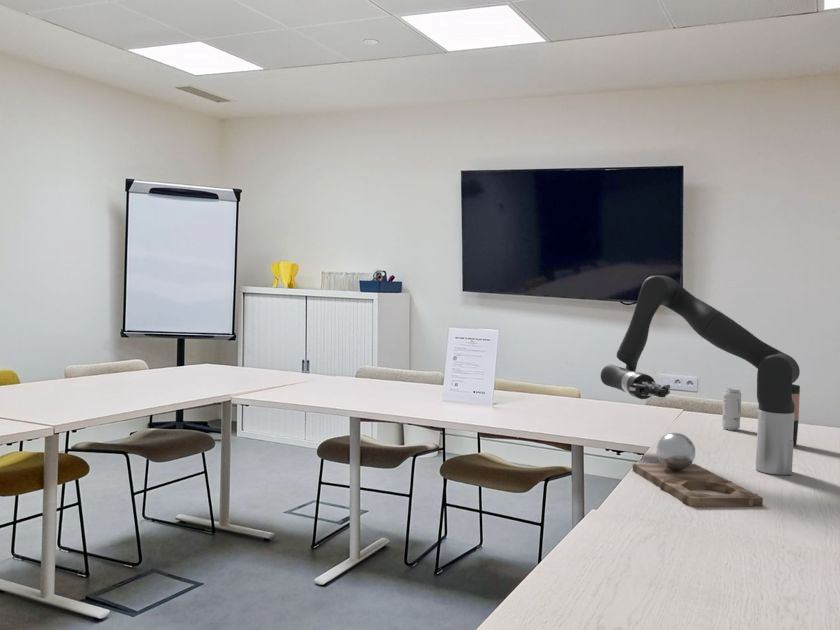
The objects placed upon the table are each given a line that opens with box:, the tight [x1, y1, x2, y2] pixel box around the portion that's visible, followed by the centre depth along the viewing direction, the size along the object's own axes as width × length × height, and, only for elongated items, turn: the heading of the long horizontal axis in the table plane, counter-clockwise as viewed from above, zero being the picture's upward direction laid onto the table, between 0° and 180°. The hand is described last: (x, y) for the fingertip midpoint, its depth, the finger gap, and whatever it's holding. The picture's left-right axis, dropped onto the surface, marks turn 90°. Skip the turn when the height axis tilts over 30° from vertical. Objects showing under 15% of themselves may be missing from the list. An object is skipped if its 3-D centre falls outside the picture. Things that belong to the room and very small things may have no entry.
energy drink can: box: [721, 387, 742, 431], centre depth 281 cm, size 6×6×15 cm
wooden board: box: [632, 463, 764, 508], centre depth 197 cm, size 34×19×2 cm, turn 7°
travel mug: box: [792, 383, 801, 447], centre depth 256 cm, size 8×8×20 cm
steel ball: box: [656, 432, 696, 470], centre depth 207 cm, size 10×10×10 cm
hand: (663, 393), depth 215 cm, fingers closed
